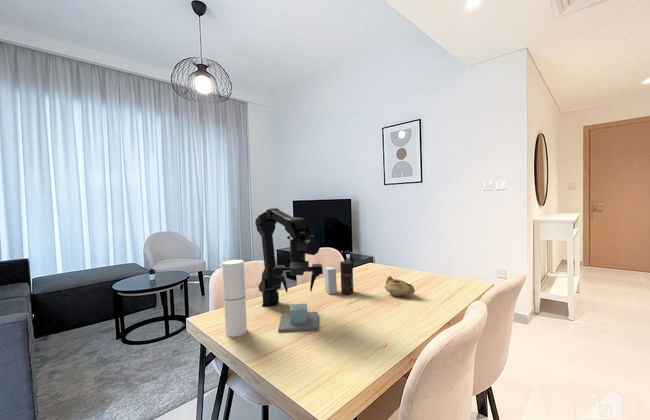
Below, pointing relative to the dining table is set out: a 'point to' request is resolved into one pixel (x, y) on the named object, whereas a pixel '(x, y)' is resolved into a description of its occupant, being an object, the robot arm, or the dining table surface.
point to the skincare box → (330, 280)
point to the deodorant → (346, 277)
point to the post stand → (310, 325)
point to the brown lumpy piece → (398, 287)
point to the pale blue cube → (298, 313)
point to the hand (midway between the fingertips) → (298, 291)
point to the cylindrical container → (234, 298)
